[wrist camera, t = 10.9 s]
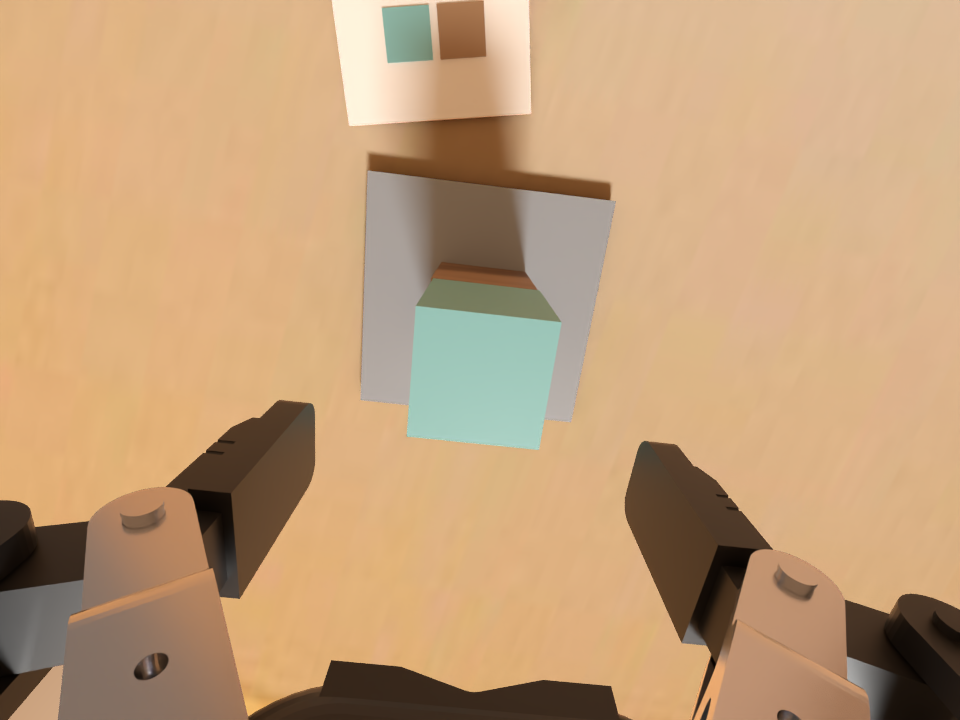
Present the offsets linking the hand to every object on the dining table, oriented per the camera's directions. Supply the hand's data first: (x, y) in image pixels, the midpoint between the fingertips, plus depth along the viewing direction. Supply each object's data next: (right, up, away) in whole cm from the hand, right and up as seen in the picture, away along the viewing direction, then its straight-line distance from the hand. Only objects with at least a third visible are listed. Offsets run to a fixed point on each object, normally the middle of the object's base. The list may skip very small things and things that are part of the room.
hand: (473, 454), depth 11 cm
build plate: (0, +6, +17) cm, 18 cm away
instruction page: (-2, +19, +12) cm, 23 cm away
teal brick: (0, +4, +11) cm, 11 cm away
